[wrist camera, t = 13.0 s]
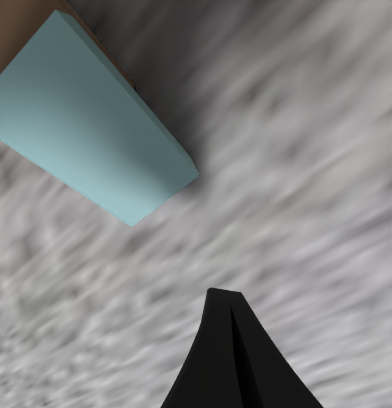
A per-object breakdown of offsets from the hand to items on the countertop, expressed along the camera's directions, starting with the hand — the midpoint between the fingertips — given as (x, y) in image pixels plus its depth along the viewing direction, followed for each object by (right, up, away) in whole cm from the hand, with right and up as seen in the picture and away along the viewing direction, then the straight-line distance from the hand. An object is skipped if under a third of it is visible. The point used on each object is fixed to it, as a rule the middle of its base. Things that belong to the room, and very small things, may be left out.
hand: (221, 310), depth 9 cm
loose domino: (-3, +5, +3) cm, 6 cm away
